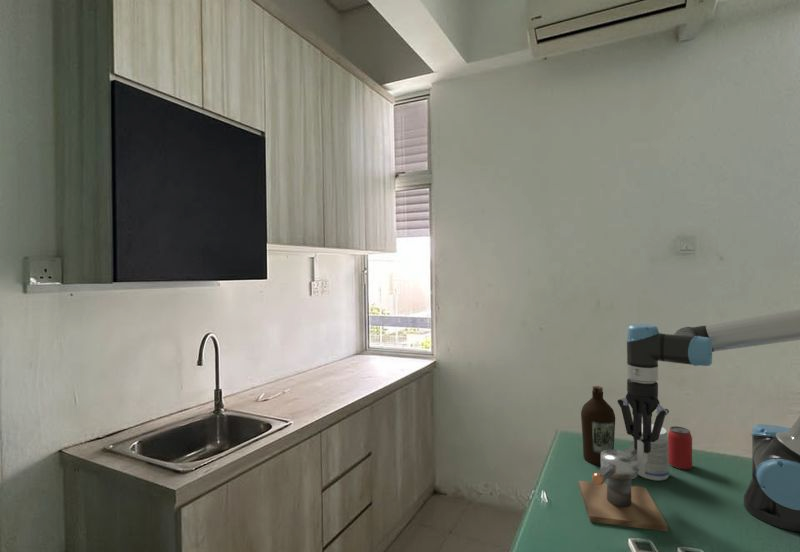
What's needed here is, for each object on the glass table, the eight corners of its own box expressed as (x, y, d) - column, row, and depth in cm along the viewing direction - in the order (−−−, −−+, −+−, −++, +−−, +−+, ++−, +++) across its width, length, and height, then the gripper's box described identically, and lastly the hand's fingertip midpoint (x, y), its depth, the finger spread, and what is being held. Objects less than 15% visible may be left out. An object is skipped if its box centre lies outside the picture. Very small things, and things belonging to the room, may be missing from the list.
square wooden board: (645, 492, 121) (644, 459, 121) (667, 531, 104) (667, 493, 103) (578, 485, 126) (578, 454, 125) (590, 521, 108) (589, 485, 108)
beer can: (665, 465, 137) (665, 429, 136) (671, 458, 141) (671, 424, 141) (689, 472, 132) (689, 435, 131) (694, 465, 136) (694, 429, 136)
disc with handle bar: (619, 451, 126) (619, 438, 126) (652, 461, 119) (652, 447, 119) (578, 483, 108) (578, 468, 108) (614, 497, 102) (614, 481, 101)
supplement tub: (674, 475, 130) (674, 429, 129) (659, 485, 125) (659, 437, 124) (642, 463, 138) (642, 420, 138) (627, 472, 133) (627, 427, 132)
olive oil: (576, 452, 147) (575, 382, 147) (607, 452, 147) (606, 382, 146) (588, 466, 137) (588, 392, 136) (621, 466, 136) (621, 391, 135)
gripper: (612, 377, 119) (612, 457, 120) (661, 387, 108) (661, 476, 109) (625, 372, 123) (625, 450, 124) (674, 382, 113) (673, 467, 114)
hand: (642, 462), depth 117 cm, fingers closed
